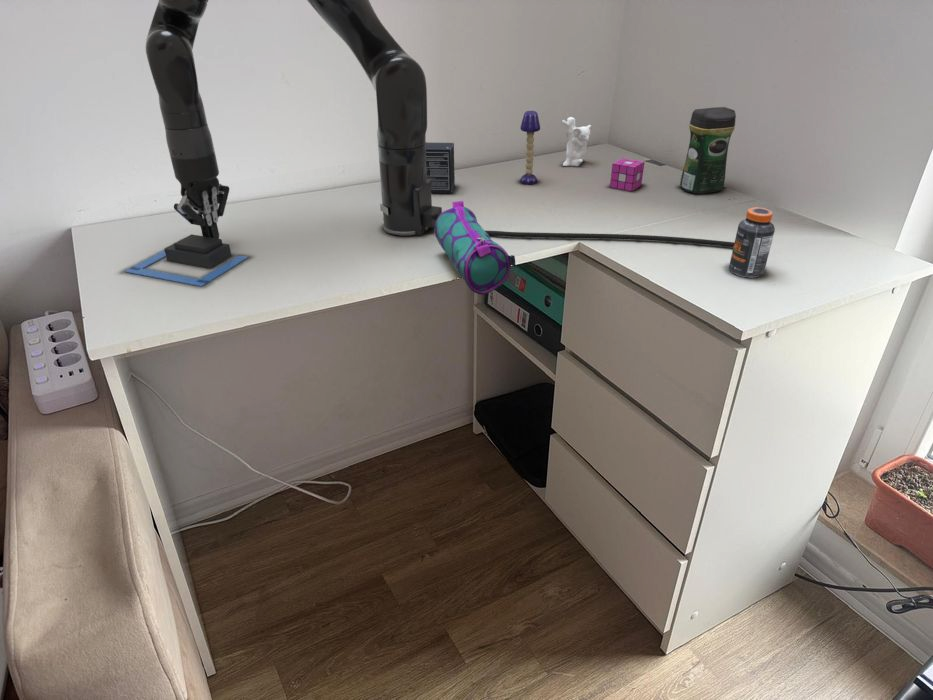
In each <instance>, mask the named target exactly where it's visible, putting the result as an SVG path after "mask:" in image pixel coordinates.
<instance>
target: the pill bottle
mask: <svg viewBox="0 0 933 700" xmlns="http://www.w3.org/2000/svg"><path fill="white" fill-rule="evenodd" d="M772 219H773V211H772V210H770V209H768V208H765V207H757V206H756V207H750V208H748V209H747V212H746V215H745V219H742V220H741V221H740V222H739V223H738V225H737V230H736V233H735V238H734V242H735V243H734V247H732V252H731V256H730V260H729V265H728V269H729V271H730V272H731V273H732V274H734V275H737V276H739V277H744V278H758V277H761V276H763V275H764V273H765V271H766V265H767V262H768V258H769V255H770V251H771V247H772V243H773V239H774V235H775V232H776V228H775V225H774V224H773V223H772V222H771V221H772Z"/></svg>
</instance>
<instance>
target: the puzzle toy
mask: <svg viewBox="0 0 933 700" xmlns="http://www.w3.org/2000/svg"><path fill="white" fill-rule="evenodd" d="M644 169H645V161H641V160H634V159H629V158H624V157H623V158H622V157H621V159H618V160H617V161H615V162H613V163H612V164H611V173H610V182H609V188H612V189H618V190H622V191H627V192H633V191H635V190H637V189H638V188H640V187H641V186H642V185H643V176H644Z"/></svg>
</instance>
